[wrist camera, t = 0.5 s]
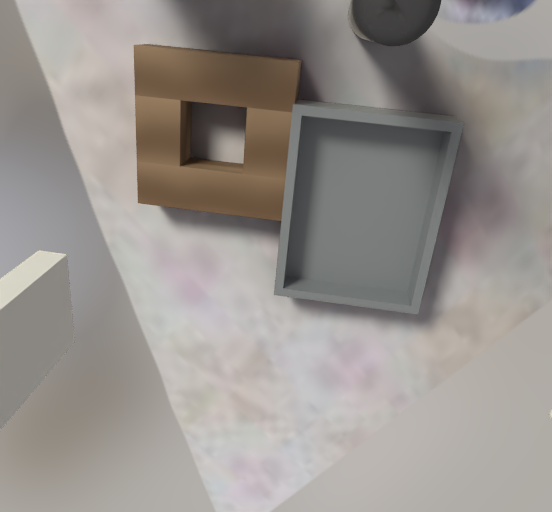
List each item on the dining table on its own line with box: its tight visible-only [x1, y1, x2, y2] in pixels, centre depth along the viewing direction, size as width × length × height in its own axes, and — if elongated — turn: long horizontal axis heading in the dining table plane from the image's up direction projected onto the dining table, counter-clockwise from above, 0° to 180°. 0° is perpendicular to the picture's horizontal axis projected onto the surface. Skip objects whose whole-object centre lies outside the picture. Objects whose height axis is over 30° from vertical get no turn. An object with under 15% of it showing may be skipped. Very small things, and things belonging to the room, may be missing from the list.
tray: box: [274, 99, 464, 314], centre depth 34 cm, size 13×10×3 cm
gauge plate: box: [134, 44, 302, 221], centre depth 33 cm, size 10×10×2 cm
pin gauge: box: [348, 0, 441, 46], centre depth 24 cm, size 3×3×14 cm
